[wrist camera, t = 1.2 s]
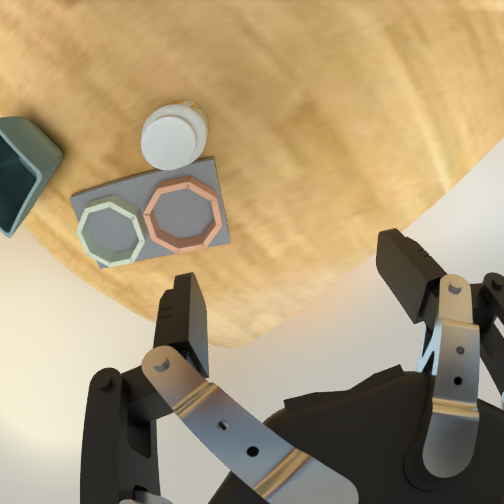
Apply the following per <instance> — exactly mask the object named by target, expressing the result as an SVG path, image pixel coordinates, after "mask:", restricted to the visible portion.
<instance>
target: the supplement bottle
mask: <svg viewBox="0 0 504 504" xmlns="http://www.w3.org/2000/svg"><path fill="white" fill-rule="evenodd" d="M208 129H209V121H208V117H207V115H206V113H205V111H204V110H203V109H202V108H201V107H200V106H199V105H198V104H196V103H194V102H191V101H177V102H173V103H171V104H168V105H165V106H163V107H161V108H159V109H157V110H156V111H154V112H153V113H152V114H151V115H150V116H149V117H148V119H147V120H146V122H145V123H144V126H143V128H142V133H141V150H142V153H143V156H144V158H145V159H146V160H147V162H148V163H149V164H151V165H152V166H153V167H155V168H158V169H161V170H174V169H178V168H181V167H184V166H187V165H189V164H190V163H192V162H193V161H195V160H196V159H197V158H198V157H199V156H200V154H201V153H202V151H203V150H204V148H205V145H206V141H207V136H208Z"/></svg>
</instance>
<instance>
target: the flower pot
mask: <svg viewBox="0 0 504 504" xmlns="http://www.w3.org/2000/svg"><path fill="white" fill-rule="evenodd" d="M62 157H63V155H62V152H61V150H60V149H59V148H58V147H57V146H56V145H55V144H54V143H53V142H52V141H51V140H50V139H49V138H48V137H47V136H46V135H45V134H44V133H43V132H42V131H41V130H40V129H39V128H38V127H37V126H36V125H35V124H34V123H32V122H31V121H29V120H27V119H25V118H22V117H3V118H0V231H1V232H2V233H3V234H4V235H6V236H7V237H9V238H11V237H12V235H13V234H14V232H15V231H16V230H17V228H18V227H19V226H20V224H21V223H22V222H23V220H24V219H25V218H26V216H27V215H28V214H29V212H30V211H31V209H32V208H33V206H34V204H35V202H36V201H37V199H38V197H39V195H40V194H41V192H42V190H43V188H44V187H45V185H46V184H47V182H48V180H49V179H50V177H51V176H52V174H53V173H54V171H55V170H56V168H57V167H58V166H59V164H60V162H61V161H62Z"/></svg>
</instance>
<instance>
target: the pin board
mask: <svg viewBox="0 0 504 504" xmlns="http://www.w3.org/2000/svg"><path fill="white" fill-rule="evenodd" d="M69 199H70V201H71V204H72V206H73V209H74V211H75V214H76V216H77V219H78V221H79V225H78V228H77V232H76V233H77V235H78V237H79V239H80V241H81V244H82V246H83V248H84V250H85V252H86V254H87V255H88V256H90V257H91V258H93V259H95V260H96V261H97V263H98V265H99V267H100V269H102V268H107V267H114V266H119V265H124V264H129V263H133V262H136V261H141V260H146V259H151V258H156V257H161V256H166V255H171V254H176V253H178V254H179V253H184V252H189V251H194V250H199V249H204V248H206V247H212V246H217V245H222V244H227V243H231V241H230V235H229V230H228V225H227V221H226V216H225V211H224V206H223V201H222V196H221V191H220V187H219V182H218V177H217V172H216V167H215V161H214V157H209V158H204V159H199V160H195V161H193V162H192V163H190V164H189V165H187V166H184V167H181V168H178V169H174V170H161V169H156V170H152V171H148V172H144V173H141V174H137V175H133V176H130V177H126V178H123V179H119V180H116V181H113V182H109V183H106V184H103V185H100V186H96V187H93V188H90V189H87V190H84V191H81V192H78V193H75V194H73V195H72V196H71V197H70V198H69Z"/></svg>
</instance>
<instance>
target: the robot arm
mask: <svg viewBox="0 0 504 504" xmlns="http://www.w3.org/2000/svg"><path fill="white" fill-rule="evenodd" d="M376 266H377V270H378V272H379V274H380V275H381V277H382V278H383V279H384V281H385V282H386V284H387V285H388V286H389V287H390V289H391V291H392V292H393V293H394V295H395V296H396V298H397V299H398V301H399V302H400V304H401V305H402V307H403V308H404V310H405V311H406V313H407V314H408V316H409V317H410V319H411V320H412V322H413V323H414V324H417V323H419V322H422V321H424V322H425V327H424V331H423V338H422V345H421V351H420V357H419V363H418V366H417V369H416V372H415V371H403V370H402V368H401V366H400V364H399V365H397V366H394V367H392V368H389V369H386V370H384V371H381V372H378V373H375V374H373V375H372V376H370V377H369V378H367V379H366V380H364V381H363V382H361V383H359V384H358V385H356V386H354V387H353V388H351V389H349V390H346V391H335V392H314V393H310V394H307V395H303V396H298V397H295V398H290V399H286V400H284V404H285V408H283V409H281V410H279V411H277V412H276V413H274V414H272V415H271V416H270V417H268V418H267V419H266V420H265V421H264V422H263V423H261V422H260V421H259V420H257V419H256V418H255V417H254V416H252V415H251V414H250V413H249V412H248V411H246V410H245V409H244V408H243V407H241V406H240V405H239V404H238V403H237V402H236V401H234V400H233V399H232V398H231V397H230V396H229V395H228V394H226V393H225V392H224V391H223V390H222V389H221V388H219V387H218V386H217V385H216V384H214V383H209V382H208V381H207V380H206V379H205V378H209V366H208V338H207V310H206V305H205V301H204V298H203V295H202V293H201V290H200V287H199V285H198V282H197V279H196V277H195V274H194V273H193V272H191V273H186V274H182V275H177V276H175V280H174V288H173V289H170V290H166V291H165V293H164V294H163V296H162V297H161V299H160V303H159V309H158V310H159V311H158V316H157V318H158V319H157V322H156V329H155V337H154V345H153V349H152V350H150V351H149V352H148V353H147V354H146V355H145V357H144V359H143V360H142V365H140V366H138V367H136V368H134V369H132V370H129V371H127V372H124V373H122V374H121V373H120V372H119V371H118V370H116V369H114V368H104V369H102V370H100V371H98V372H97V373H96V374H95V375H94V376H93V378H92V380H91V382H90V385H89V392H88V398H87V405H86V413H85V421H84V430H83V440H82V453H81V473H80V504H173V503H172V502H171V501H169V500H168V499H166V498H163V497H161V494H160V484H159V470H158V454H157V431H156V430H157V429H156V419H158V418H161V417H163V416H166V415H168V414H171V413H173V412H175V413H176V415H177V416H178V417H179V418H180V419H181V420H182V422H183V423H184V424H185V425H186V426H187V427H188V428H189V429H190V430H191V431H192V432H193V433H194V434H195V436H196V437H197V438H198V439H199V440H200V441H201V442H202V443H203V444H204V445H205V446H206V447H207V448H208V449H209V450H210V451H211V452H212V453H213V454H214V455H215V456H216V457H217V458H218V459H219V460H220V461H221V462H222V463H224V464H225V465H226V466H227V467H228V468H229V469H230V470H231V471H230V472H229V474H228V475H227V477H226V478H225V480H224V481H223V483H222V484H221V486H220V487H219V488H218V490H217V491H216V493H215V494H214V496H213V497H212V499H211V500H210V501H209V503H208V504H504V338H503V336H502V335H501V333H500V332H499V330H498V329H497V327H496V326H495V324H494V322H495V320H496V318H497V316H498V318H499V319H500V321H501V322H502V324H503V325H504V277H503V276H502V275H500V274H498V273H493V272H492V273H488V274H486V275H485V277H484V280H483V282H482V283H479V284H469V283H468V282H467V281H466V280H465V279H464V278H462V277H461V276H458V275H454V274H449V275H448V274H447V273H446V272H445V271H444V270H443V269H442V268H441V267H440V265H439V264H438V263H437V262H436V261H435V260H434V259H433V258H432V257H431V256H429V254H428V253H427V252H426V251H425V250H424V249H423V248H422V247H421V246H420V245H419V244H418V243H417V242H416V241H414V240H412V239H410V238H409V237H404V235H402V233H401V232H400V231H399V230H397V229H396V228H393V229H389V230H385V231H381V232H379V235H378V244H377V255H376ZM480 357H481V359H482V361H483V362H484V364H485V366H486V368H487V369H488V371H489V373H490V375H491V377H492V379H493V381H494V383H495V385H496V386H497V389H498V391H499V392H500V394H501V404H502V405H501V406H500V408H498V407H496V406H494V405H491V404H489V403H487V402H485V401H483V400H480V399H478V398H477V395H478V383H479V362H480Z"/></svg>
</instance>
